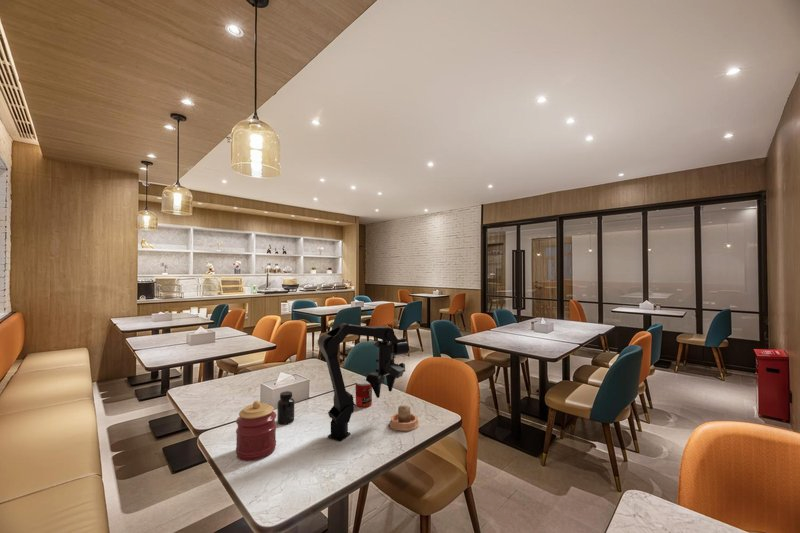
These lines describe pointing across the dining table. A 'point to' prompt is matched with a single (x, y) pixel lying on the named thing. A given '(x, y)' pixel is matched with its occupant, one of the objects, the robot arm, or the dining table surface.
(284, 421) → the supplement bottle
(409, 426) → the dish
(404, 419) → the bead
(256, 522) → the dining table surface
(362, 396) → the canned food
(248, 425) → the canister
